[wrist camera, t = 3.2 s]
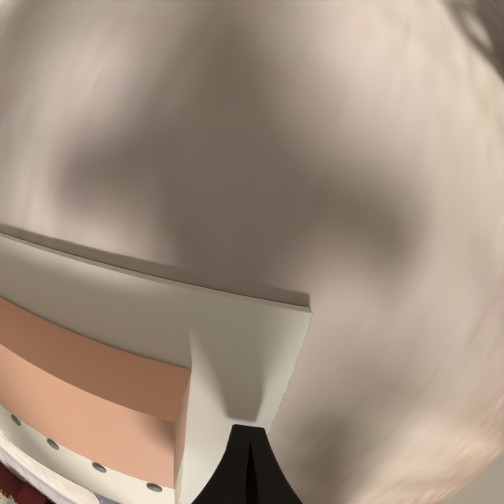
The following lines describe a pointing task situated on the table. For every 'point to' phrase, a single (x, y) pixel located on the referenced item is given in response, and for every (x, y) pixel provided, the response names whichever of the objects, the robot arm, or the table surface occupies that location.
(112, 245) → the table surface
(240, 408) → the mat
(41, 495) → the toy houses
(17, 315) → the stub
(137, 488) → the ticket book
